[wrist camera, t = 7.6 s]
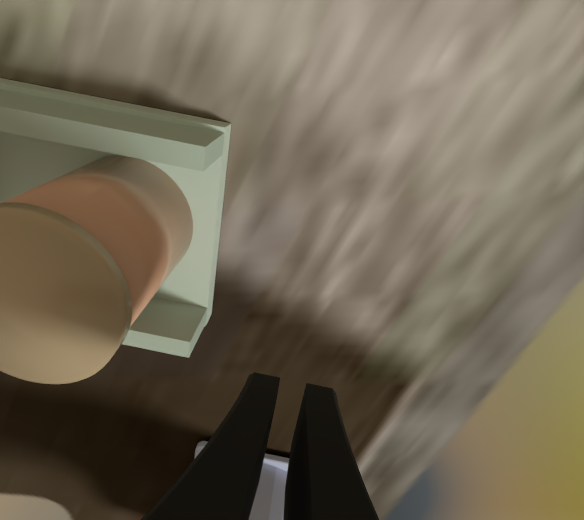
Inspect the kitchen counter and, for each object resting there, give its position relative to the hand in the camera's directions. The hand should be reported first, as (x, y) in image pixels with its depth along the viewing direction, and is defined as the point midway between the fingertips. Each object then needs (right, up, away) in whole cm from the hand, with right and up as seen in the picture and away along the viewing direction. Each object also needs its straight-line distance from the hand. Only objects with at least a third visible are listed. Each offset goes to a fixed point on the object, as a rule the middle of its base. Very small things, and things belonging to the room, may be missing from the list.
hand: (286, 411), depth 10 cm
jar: (-6, +5, +8) cm, 11 cm away
